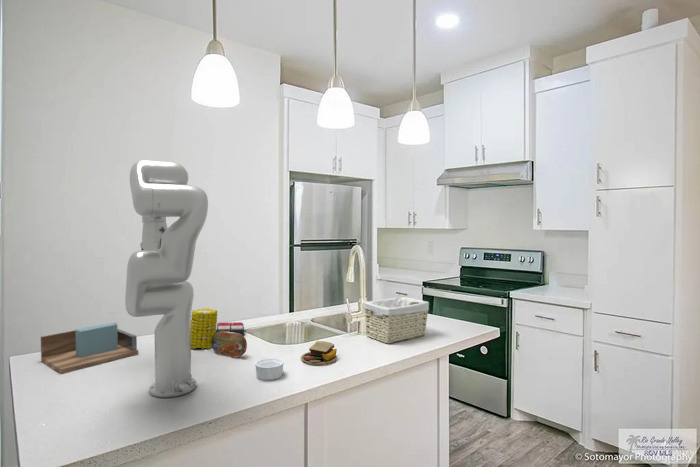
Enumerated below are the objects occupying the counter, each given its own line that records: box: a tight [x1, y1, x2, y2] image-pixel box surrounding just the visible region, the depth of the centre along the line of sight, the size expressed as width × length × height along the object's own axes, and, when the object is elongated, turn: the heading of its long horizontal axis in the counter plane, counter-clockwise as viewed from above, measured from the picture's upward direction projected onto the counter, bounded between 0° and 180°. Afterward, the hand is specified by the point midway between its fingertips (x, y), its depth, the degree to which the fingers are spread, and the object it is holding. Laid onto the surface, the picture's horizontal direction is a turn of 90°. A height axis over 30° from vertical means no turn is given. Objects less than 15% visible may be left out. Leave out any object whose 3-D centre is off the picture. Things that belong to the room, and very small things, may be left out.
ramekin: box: [254, 357, 285, 381], centre depth 131 cm, size 9×9×4 cm
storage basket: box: [364, 296, 430, 344], centre depth 175 cm, size 24×16×15 cm
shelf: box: [40, 322, 139, 375], centre depth 146 cm, size 18×24×8 cm
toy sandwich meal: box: [300, 340, 338, 366], centre depth 147 cm, size 12×14×5 cm
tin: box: [211, 331, 248, 359], centre depth 150 cm, size 15×3×8 cm, turn 62°
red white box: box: [216, 321, 245, 337], centre depth 177 cm, size 11×4×15 cm
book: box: [75, 322, 118, 358], centre depth 148 cm, size 4×12×9 cm, turn 142°
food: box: [190, 307, 218, 350], centre depth 160 cm, size 15×12×10 cm
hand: (155, 267), depth 146 cm, fingers open, 9 cm apart
